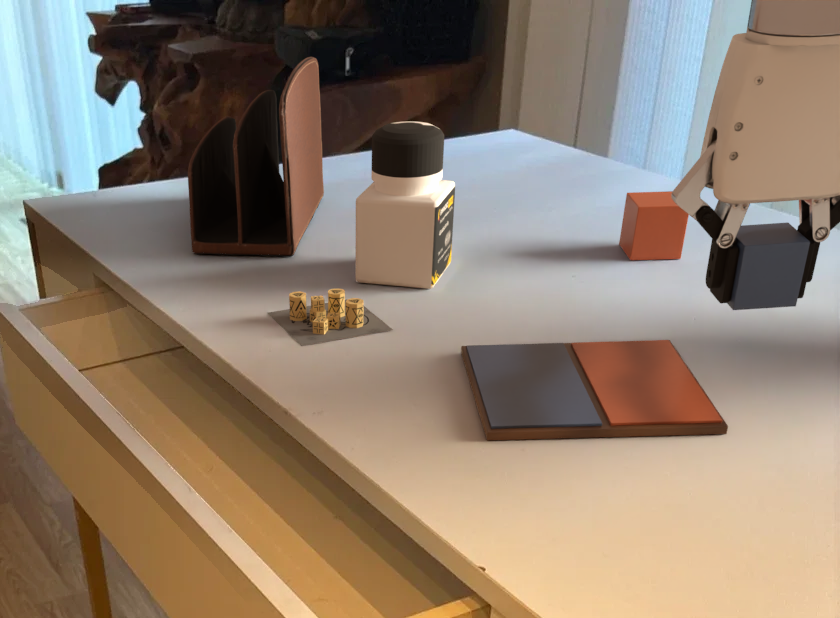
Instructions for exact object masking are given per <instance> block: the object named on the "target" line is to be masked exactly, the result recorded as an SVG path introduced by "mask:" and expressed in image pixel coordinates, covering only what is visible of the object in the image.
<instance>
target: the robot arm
mask: <svg viewBox="0 0 840 618" xmlns="http://www.w3.org/2000/svg"><path fill="white" fill-rule="evenodd" d="M726 51H727V52H726V54H725V56H724V60H723V63H722V66H721V69H720V72H719V76H718V79H717V82H716V87H715V91H714V94H713V99H712V102H711V106H710V110H709V115H708V119H707V122H706V127H705V131H704V137H703V139H702V140H703V141H702V145H701V151H700V156H699V158H698V159H697V160H696V161H695V162H694V164H693V165H692V167H690V169H689V170H688V171H687V173H686V174H685V175H684V177H683V178H682V179H681V180H680V182H679V183H678V184H677V185H676V187H675V188H674V189H673V190H672V191H673V192H672V194H671V198H672V200H673V201H674V202H675V203H676V204H677V205H678V206H679V207H680V208H681V209H683V210H684V211H685V212H686V213H687V214H689V217H691V218H692V219H694V220H695V221H696V222H697V223H698V224H699V225H700V226H701V227H702V229H703V230H704V231H705V232H706V233H707V234H708V236H709V237H710V238H711V244H710V248H709V249H710V250H709V255H708V261H707V267H706V274H705V285H706V287H707V289H709V292H710V293H711V294H712V295H713V297H714V299H716V300H717V301H718V302H719V304H727V303H728V302H729V301H730V300H731V296H732V291H733V285H734V280H735V274H736V269H737V263H738V258H739V248H738V247H737V246H736V245H735V243H736V238H737V237H736V236H737V233H738V231H739V229H740V226H742V224H743V221H744V219H745V217H746V214H747V212H748V209H749V207H750V204H763V203H774V202H775V203H779V202H791V201H792V202H793V201H798V215H799V216H798V217H799V218H798V221H799V225H797V229H796V230H797V231H798V232H800V233H801V234H802V235H803V236H804V237H805V238H806V239H808V240H809V241H810V245H809V249H808V254H807V258H806V263H805V267H804V272H803V276H802V281H801V285H800V290H799V294H798V299H803V298H804V295H805V290H806V286H807V283H811V281H812V280H813V277H814V272H815V268H816V264H817V259H818V254H819V250H820V245H821V243H822V242H824V241H825V240H827V239H828V238H829V236H830V234H831V231H832V230H833V229H834V228H835V227H836V226H837V225H838V224H839V223H840V0H751V2H750V8H749V15H748V20H747V27H746V32H743V33H742V32H741V33H736V34H733V36H732V38H731V40H730V43H729V45H728V48H727V50H726ZM704 188H708V189H711V190H712V193H713V196H714V198H715V199H717V203H716V205H715V208H712V207H711V205H709V204H708V203H707V202H706V201H705V200H703V199H702V198H701V194H702V191H703V190H704Z"/></svg>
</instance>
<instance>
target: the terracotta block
mask: <svg viewBox="0 0 840 618" xmlns="http://www.w3.org/2000/svg"><path fill="white" fill-rule="evenodd" d="M672 192H673V190H672V191H671V190H670V191H640V192H639V191H636V192H626V196H625V201H624V208H623V209H624V210H623V215H622V217H623V218H622V221H621V222H622V223H621V228H620V235H619V241H618V245H619V246H620V248H621V249H622V251H623V252H624V254H625V255H626V256H627V258H628V259H629V261H659V260H660V261H661V260H681V259H682V254H683V250H684V249H683V248H684V244H685V237H686V232H687V227H688V222H689V217H690V215H689V214H687V213H686V212H685V211H684V210H683V209H681V208H680V207H679V206H678V205H677V204H676V203H675V202H674V201H673V200H672V198H671V194H672Z"/></svg>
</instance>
